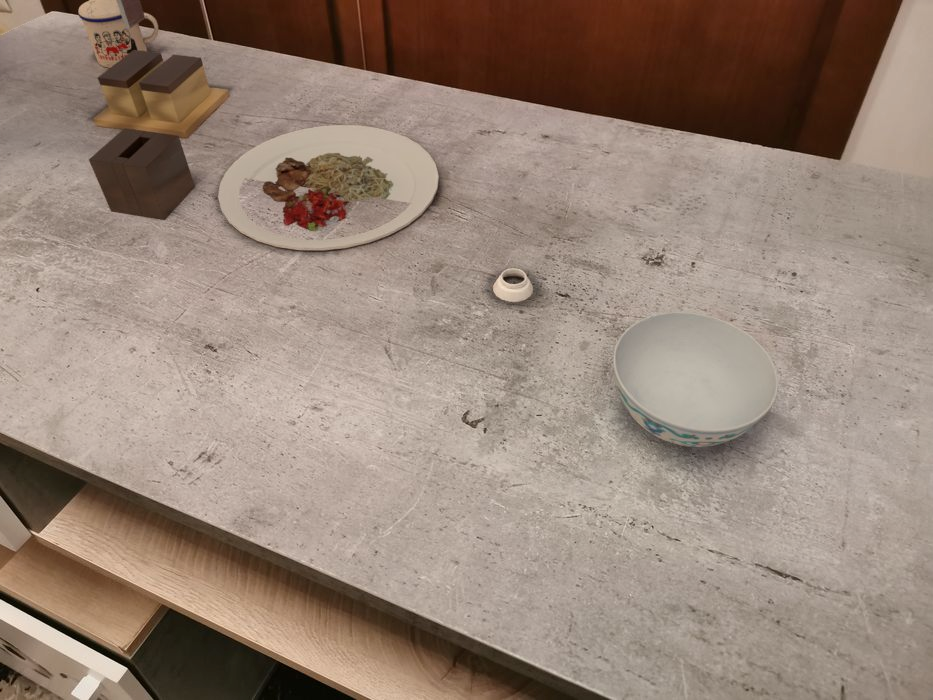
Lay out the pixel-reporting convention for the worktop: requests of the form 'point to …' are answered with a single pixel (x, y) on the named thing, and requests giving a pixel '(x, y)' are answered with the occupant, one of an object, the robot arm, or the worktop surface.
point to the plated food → (331, 181)
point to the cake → (158, 94)
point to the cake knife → (130, 12)
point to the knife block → (143, 173)
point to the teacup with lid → (112, 31)
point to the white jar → (513, 286)
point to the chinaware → (693, 378)
